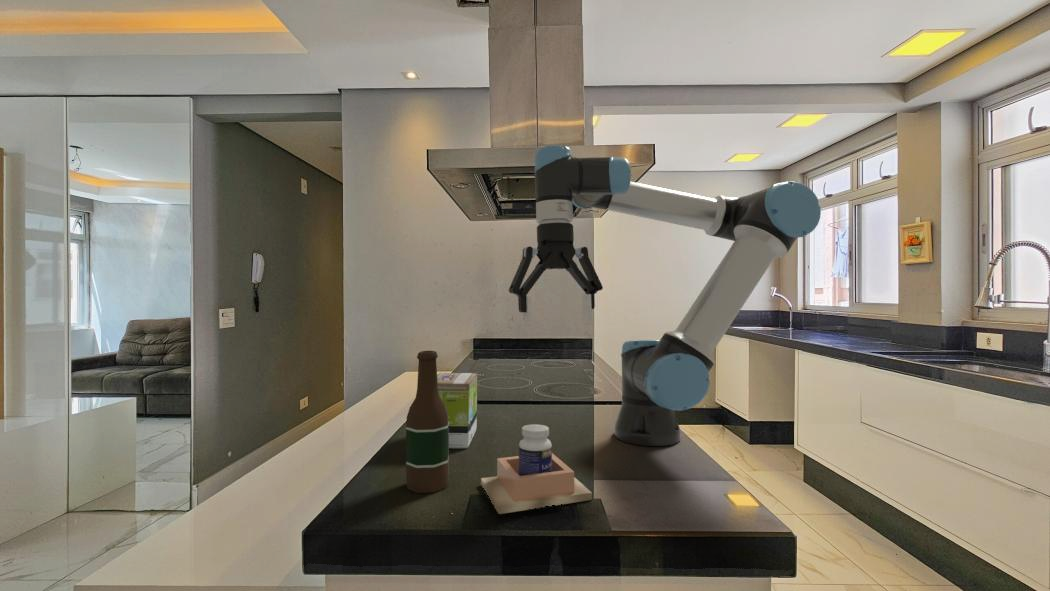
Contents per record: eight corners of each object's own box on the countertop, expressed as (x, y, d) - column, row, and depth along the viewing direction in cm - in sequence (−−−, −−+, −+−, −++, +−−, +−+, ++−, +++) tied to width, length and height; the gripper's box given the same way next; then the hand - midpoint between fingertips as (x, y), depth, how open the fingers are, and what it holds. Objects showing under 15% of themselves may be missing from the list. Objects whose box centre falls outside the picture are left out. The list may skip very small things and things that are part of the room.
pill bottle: (549, 493, 79) (549, 433, 79) (515, 490, 80) (515, 431, 80) (554, 479, 84) (553, 423, 84) (522, 477, 86) (522, 422, 86)
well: (551, 470, 89) (551, 452, 89) (574, 492, 79) (574, 471, 79) (497, 477, 85) (497, 458, 85) (514, 501, 76) (514, 479, 76)
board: (563, 473, 90) (563, 467, 90) (591, 499, 79) (591, 492, 79) (481, 484, 85) (481, 478, 85) (498, 514, 74) (498, 506, 74)
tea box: (470, 449, 105) (469, 382, 105) (424, 449, 105) (424, 382, 105) (477, 429, 120) (477, 371, 120) (438, 429, 120) (437, 371, 120)
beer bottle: (411, 497, 80) (411, 355, 80) (401, 481, 87) (400, 350, 87) (456, 489, 84) (455, 352, 84) (442, 474, 91) (441, 348, 90)
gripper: (503, 219, 90) (507, 331, 90) (616, 222, 99) (620, 324, 99) (491, 225, 97) (494, 329, 97) (598, 227, 106) (601, 322, 106)
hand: (558, 327), depth 98 cm, fingers open, 13 cm apart
